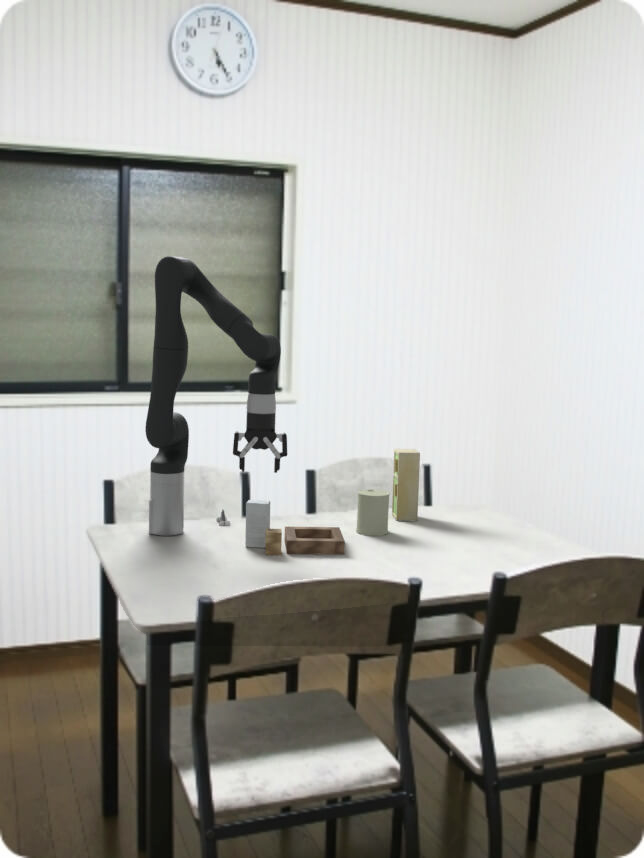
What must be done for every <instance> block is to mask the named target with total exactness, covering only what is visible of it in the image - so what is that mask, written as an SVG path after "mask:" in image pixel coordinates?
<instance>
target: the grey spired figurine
mask: <svg viewBox="0 0 644 858" xmlns="http://www.w3.org/2000/svg"><path fill="white" fill-rule="evenodd" d="M215 521H220V522H218V525H219V526H226V525H225V524H230V525H231V521H230V520H228V518H227V517H226V513H225V510H224V509H222V510H221V515H220V516H219V517H216V520H215Z"/></svg>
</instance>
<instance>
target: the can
mask: <svg viewBox="0 0 644 858" xmlns="http://www.w3.org/2000/svg"><path fill="white" fill-rule="evenodd" d="M389 504H390V492H389V491H387V490H382V489H374V488H373V489H370V488H368V489H360V490H358V491H357V513H356V516H357V517H356V528H355V533H357V532H358V533H357V534H359V533H360V535H362V534H364V536H368V535H371V536H372V537H378V536H380V535H381V536H385V534H386V535H387V534H388V533H389V530H388V529H389V506H390V505H389ZM371 536H370V537H371ZM381 536H380V537H381Z"/></svg>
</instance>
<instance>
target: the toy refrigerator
mask: <svg viewBox="0 0 644 858" xmlns="http://www.w3.org/2000/svg"><path fill="white" fill-rule="evenodd" d="M420 461H421V453H420V451H418V450H417V449H415V448H394V449H393V472H392V473H393V474H392V500H391V501H392V502H391V503H392V504H391V515H392V517H393V518H394V519H395V520H396V522H397V521H401V522H403V521H405V522H406V521H408V522H409V521H411V522H412V521H414V522H416V521H418V519H419V518H418V517H419V516H418V514H419V512H418V511H419V490H420V489H419V488H420V487H419V486H420V485H419V484H420V465H421V464H420V463H421V462H420Z"/></svg>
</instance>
